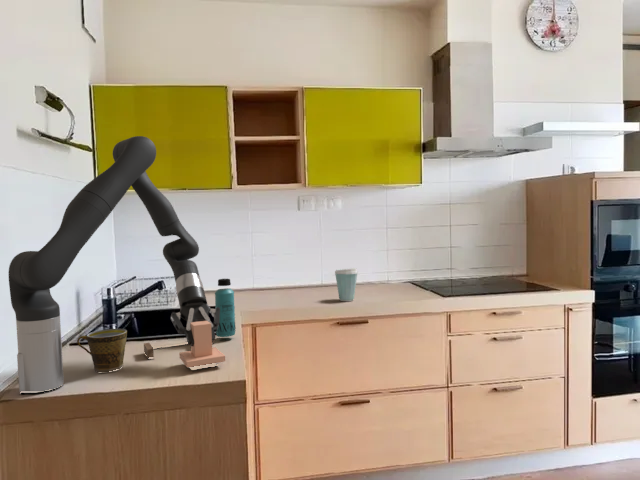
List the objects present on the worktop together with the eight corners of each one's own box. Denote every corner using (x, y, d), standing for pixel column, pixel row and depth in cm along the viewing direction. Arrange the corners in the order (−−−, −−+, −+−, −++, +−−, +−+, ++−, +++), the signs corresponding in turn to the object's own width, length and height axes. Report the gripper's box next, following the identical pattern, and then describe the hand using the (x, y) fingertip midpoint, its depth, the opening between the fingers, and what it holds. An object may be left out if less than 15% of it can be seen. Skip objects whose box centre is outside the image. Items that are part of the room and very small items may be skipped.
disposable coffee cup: (331, 301, 229) (330, 269, 228) (343, 297, 238) (342, 266, 237) (350, 303, 223) (349, 269, 222) (362, 299, 231) (361, 267, 231)
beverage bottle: (212, 339, 163) (209, 279, 162) (229, 335, 168) (226, 276, 167) (223, 342, 159) (220, 280, 158) (240, 338, 163) (237, 278, 162)
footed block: (187, 367, 128) (185, 329, 127) (179, 357, 136) (177, 321, 136) (225, 361, 132) (223, 324, 132) (215, 352, 141) (213, 317, 140)
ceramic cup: (133, 363, 139) (132, 327, 138) (120, 374, 129) (118, 336, 128) (87, 365, 139) (85, 329, 138) (70, 376, 129) (68, 338, 128)
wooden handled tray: (147, 359, 142) (147, 349, 142) (144, 353, 149) (143, 343, 149) (204, 351, 149) (204, 341, 149) (198, 345, 156) (197, 336, 156)
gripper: (166, 287, 137) (176, 339, 127) (217, 282, 144) (231, 332, 134) (163, 303, 142) (173, 354, 132) (213, 298, 149) (226, 346, 139)
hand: (202, 343), depth 133 cm, fingers closed on footed block, 4 cm apart
